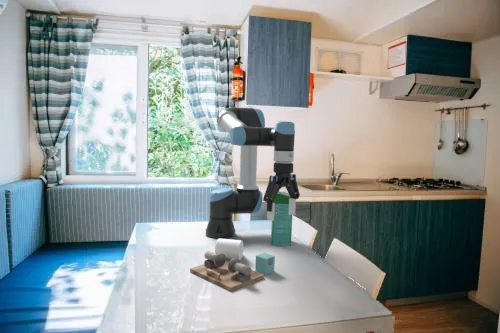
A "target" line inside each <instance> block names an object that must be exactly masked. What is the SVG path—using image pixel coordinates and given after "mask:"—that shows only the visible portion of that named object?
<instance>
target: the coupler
mask: <svg viewBox="0 0 500 333" xmlns="http://www.w3.org/2000/svg"><path fill="white" fill-rule="evenodd" d="M275 257H276V256H275V255H273V254H269V253H266V252H263V253H261V254H257V255H255V270H254V271H256V272H258V273H261V274H263V275H264V276H266V275H270V274H272V273H273V272H275V264H276V263H275V262H276V261H275V259H276V258H275Z"/></svg>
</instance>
